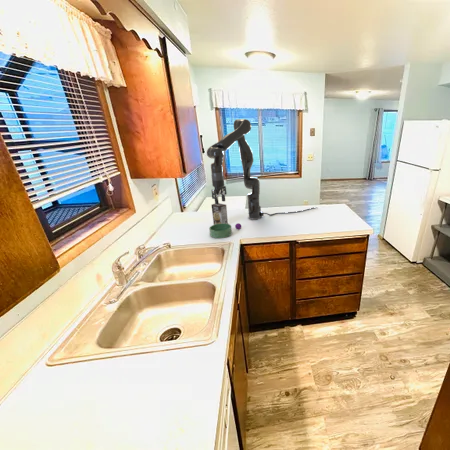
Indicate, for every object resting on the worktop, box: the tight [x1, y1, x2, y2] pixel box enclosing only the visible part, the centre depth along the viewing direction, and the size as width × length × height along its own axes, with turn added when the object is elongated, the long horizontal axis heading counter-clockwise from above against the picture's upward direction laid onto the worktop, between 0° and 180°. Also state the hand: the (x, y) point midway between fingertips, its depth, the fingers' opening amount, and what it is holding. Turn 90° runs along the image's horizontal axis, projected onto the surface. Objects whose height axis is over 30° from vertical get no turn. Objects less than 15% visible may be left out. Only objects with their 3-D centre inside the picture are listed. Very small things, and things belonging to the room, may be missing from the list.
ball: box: [234, 222, 242, 230], centre depth 172 cm, size 4×4×4 cm
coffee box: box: [211, 202, 229, 225], centre depth 178 cm, size 9×6×16 cm
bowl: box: [208, 223, 233, 239], centre depth 162 cm, size 14×14×6 cm
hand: (220, 202), depth 163 cm, fingers open, 8 cm apart
